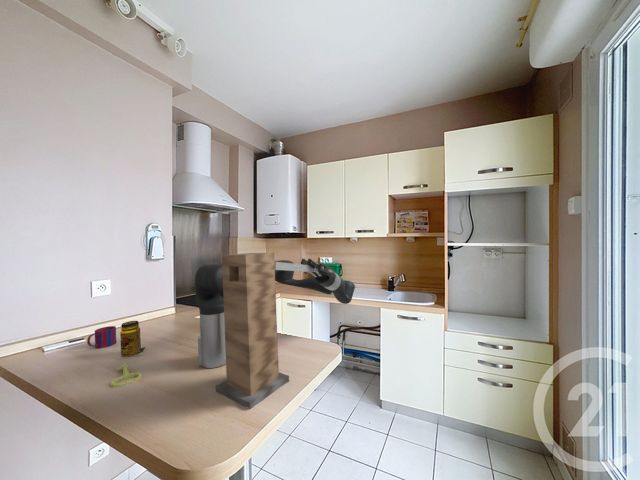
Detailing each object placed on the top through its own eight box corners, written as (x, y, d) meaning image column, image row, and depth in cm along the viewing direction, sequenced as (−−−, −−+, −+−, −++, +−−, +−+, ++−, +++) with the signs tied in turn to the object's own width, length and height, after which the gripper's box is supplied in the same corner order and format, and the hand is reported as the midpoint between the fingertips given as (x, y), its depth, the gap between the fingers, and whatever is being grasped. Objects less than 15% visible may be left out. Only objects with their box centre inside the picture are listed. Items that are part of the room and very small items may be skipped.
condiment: (116, 359, 90) (115, 326, 90) (124, 350, 98) (123, 320, 98) (140, 355, 93) (139, 323, 93) (146, 347, 101) (145, 317, 101)
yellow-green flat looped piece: (126, 369, 83) (126, 362, 83) (144, 378, 77) (144, 372, 77) (98, 380, 77) (98, 373, 77) (115, 391, 71) (115, 384, 71)
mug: (120, 342, 106) (119, 326, 106) (92, 352, 97) (92, 335, 97) (109, 341, 109) (108, 325, 109) (81, 351, 99) (80, 333, 99)
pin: (314, 272, 98) (314, 266, 98) (319, 272, 96) (320, 266, 97) (269, 269, 78) (270, 261, 78) (275, 269, 77) (276, 261, 77)
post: (256, 368, 80) (251, 252, 80) (289, 381, 72) (284, 252, 72) (216, 391, 68) (211, 255, 68) (250, 409, 60) (244, 255, 60)
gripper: (316, 269, 109) (293, 251, 96) (344, 270, 101) (323, 251, 89) (312, 286, 106) (287, 269, 93) (340, 288, 98) (318, 271, 85)
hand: (305, 261), depth 91 cm, fingers closed on pin, 2 cm apart
